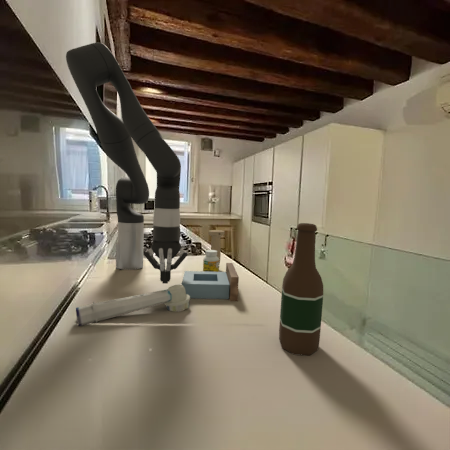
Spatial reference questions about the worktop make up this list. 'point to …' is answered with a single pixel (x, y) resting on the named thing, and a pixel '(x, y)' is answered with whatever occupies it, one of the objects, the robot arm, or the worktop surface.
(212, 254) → the supplement bottle
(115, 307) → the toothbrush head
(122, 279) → the worktop surface
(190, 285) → the socket block
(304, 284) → the beer bottle
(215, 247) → the handle
